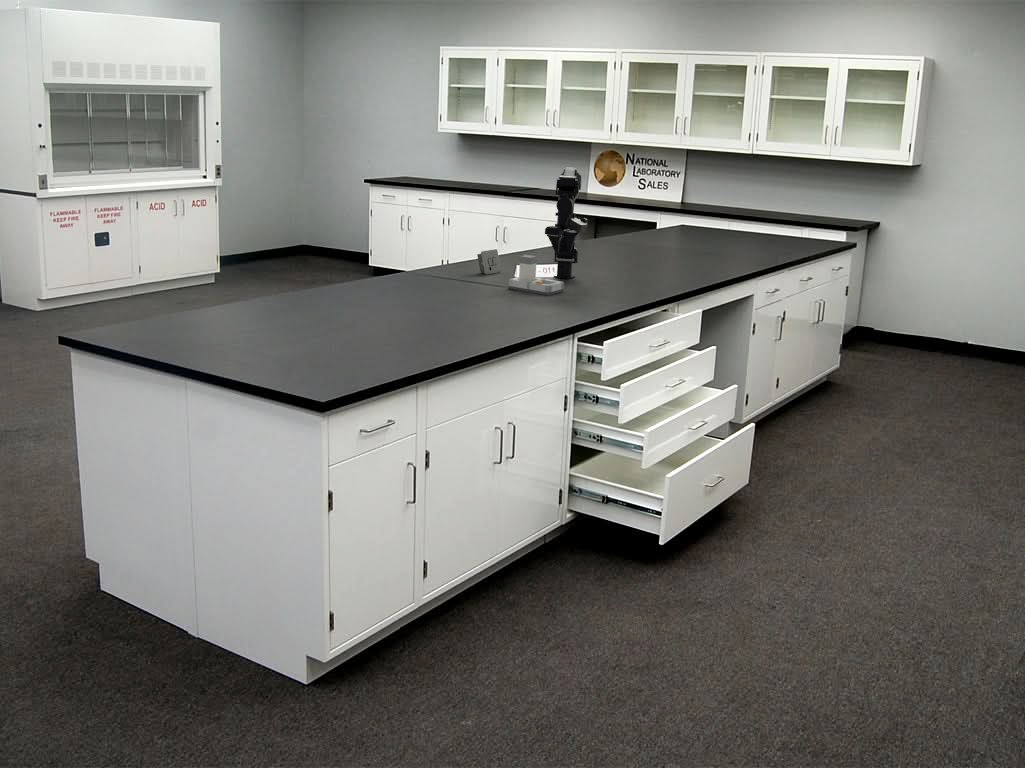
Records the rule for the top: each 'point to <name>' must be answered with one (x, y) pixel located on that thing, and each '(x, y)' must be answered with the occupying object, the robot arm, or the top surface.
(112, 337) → the top surface
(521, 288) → the white rectangular frame
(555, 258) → the robot arm
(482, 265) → the electrical switch
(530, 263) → the grey tall block
